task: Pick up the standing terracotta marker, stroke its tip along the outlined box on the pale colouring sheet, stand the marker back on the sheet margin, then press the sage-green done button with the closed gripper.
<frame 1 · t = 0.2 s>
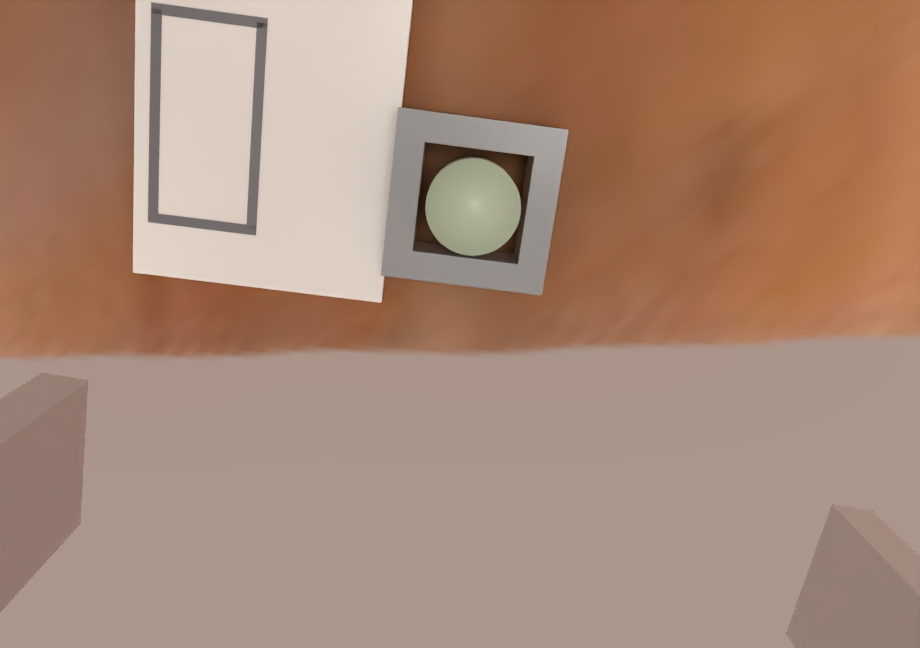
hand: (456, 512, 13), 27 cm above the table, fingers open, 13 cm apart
button: (472, 204, 36), point 3 cm above the table, slide at 0.0 cm
sheet: (269, 131, 38), on the table
button housing: (471, 197, 39), on the table
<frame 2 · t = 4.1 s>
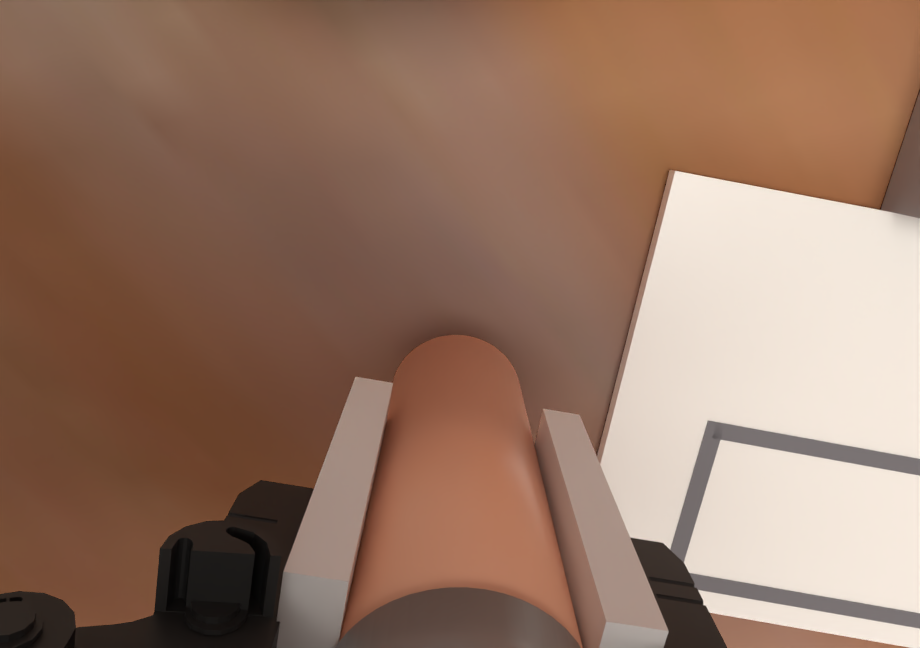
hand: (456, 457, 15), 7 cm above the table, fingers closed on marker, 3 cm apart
sheet: (874, 435, 23), on the table
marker: (455, 397, 18), point 4 cm above the table, touching gripper
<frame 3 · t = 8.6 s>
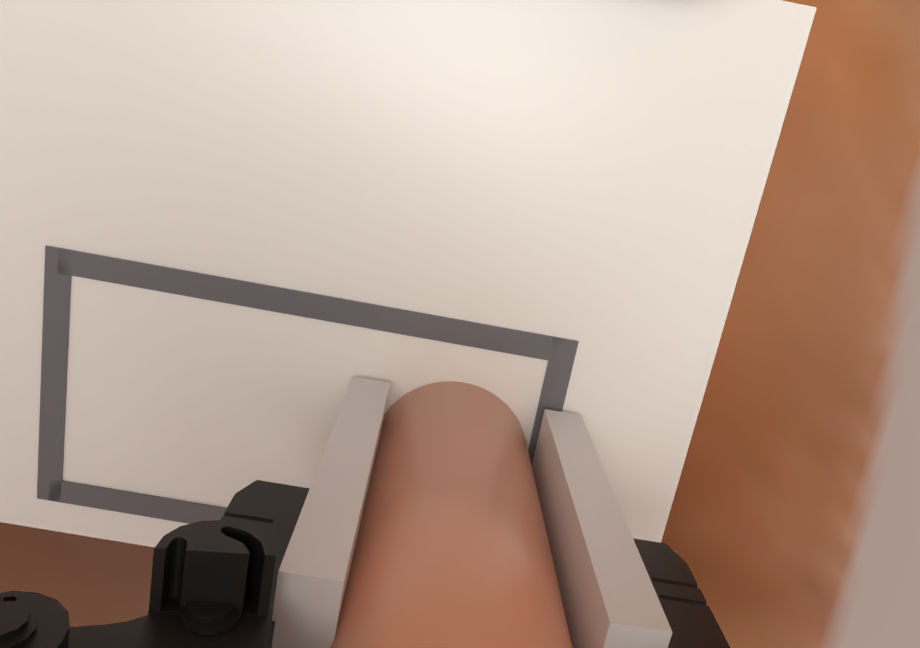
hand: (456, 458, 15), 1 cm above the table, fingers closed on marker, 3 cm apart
sheet: (323, 275, 15), on the table
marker: (449, 453, 16), point 1 cm above the table, touching gripper, sheet
when the fingers open (3 cm above the table, at t = 12.4 s): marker stays where it is, resting on sheet.
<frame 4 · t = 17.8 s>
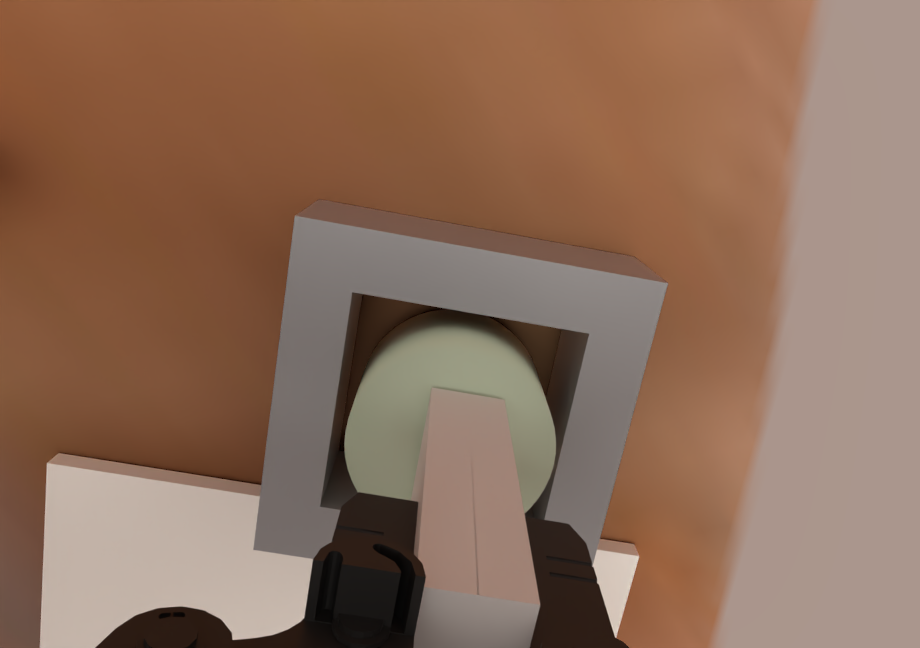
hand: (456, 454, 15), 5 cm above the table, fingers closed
button: (450, 419, 17), point 3 cm above the table, slide at 0.2 cm, touching gripper
button housing: (450, 377, 20), on the table
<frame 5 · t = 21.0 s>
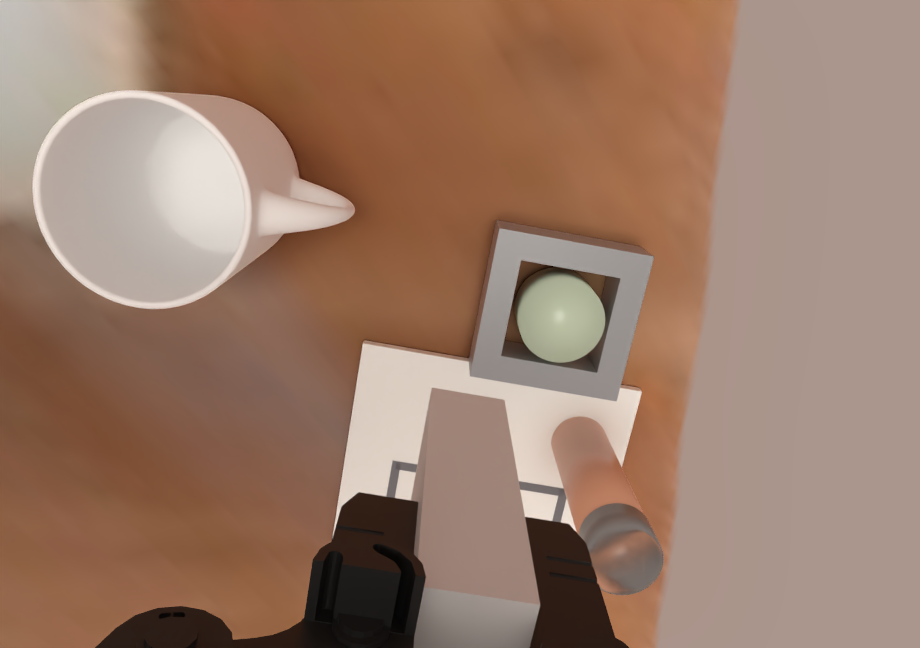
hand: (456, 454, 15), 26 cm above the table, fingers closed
button: (558, 313, 40), point 2 cm above the table, slide at 0.7 cm
sheet: (481, 466, 44), on the table
mug: (255, 184, 40), on the table
button housing: (552, 303, 42), on the table
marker: (578, 442, 43), point 1 cm above the table, touching sheet
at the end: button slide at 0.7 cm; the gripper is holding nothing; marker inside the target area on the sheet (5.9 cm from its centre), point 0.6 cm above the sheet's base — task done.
